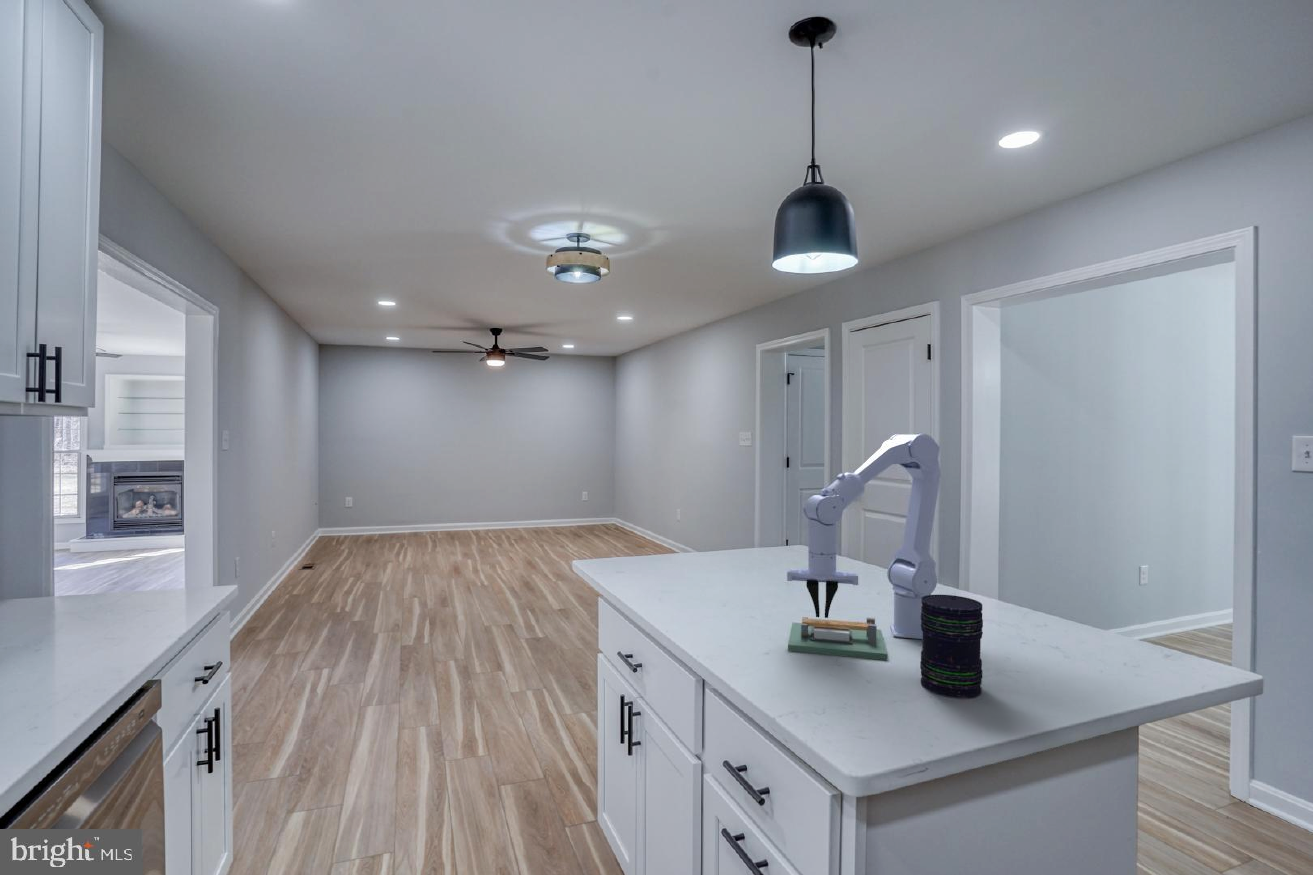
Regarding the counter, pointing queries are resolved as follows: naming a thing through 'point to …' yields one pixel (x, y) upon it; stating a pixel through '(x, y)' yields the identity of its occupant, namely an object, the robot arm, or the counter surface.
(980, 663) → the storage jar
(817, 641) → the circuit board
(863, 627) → the hold-down strap
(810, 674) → the counter surface
